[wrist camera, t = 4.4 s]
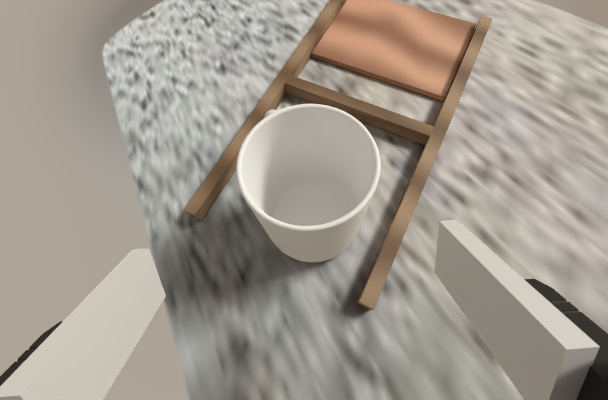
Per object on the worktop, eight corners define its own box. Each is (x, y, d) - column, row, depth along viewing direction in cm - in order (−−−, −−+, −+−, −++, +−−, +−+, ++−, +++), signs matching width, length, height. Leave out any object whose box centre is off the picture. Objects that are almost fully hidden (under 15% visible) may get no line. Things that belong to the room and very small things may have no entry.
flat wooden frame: (370, 309, 24) (373, 309, 22) (191, 215, 28) (184, 210, 26) (485, 31, 35) (492, 18, 33) (343, -7, 39) (344, -20, 37)
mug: (316, 138, 30) (313, 51, 21) (377, 237, 26) (410, 188, 16) (240, 172, 29) (199, 98, 20) (290, 281, 25) (270, 258, 15)
